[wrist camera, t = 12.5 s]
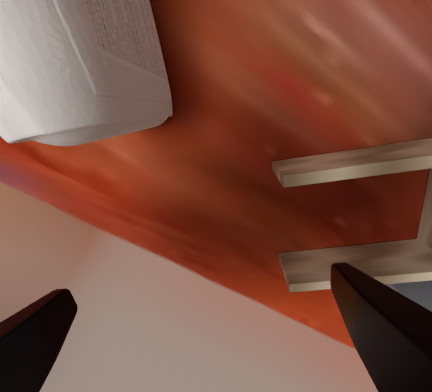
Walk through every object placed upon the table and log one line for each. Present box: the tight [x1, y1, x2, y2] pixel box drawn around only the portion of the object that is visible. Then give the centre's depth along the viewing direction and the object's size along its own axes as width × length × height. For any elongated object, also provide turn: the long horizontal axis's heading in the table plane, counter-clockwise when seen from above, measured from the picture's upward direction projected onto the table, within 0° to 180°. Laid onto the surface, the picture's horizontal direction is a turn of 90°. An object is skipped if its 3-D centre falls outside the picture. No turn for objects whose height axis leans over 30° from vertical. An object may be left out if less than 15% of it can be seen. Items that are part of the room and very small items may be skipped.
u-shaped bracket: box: [272, 138, 432, 292], centre depth 17 cm, size 13×10×4 cm
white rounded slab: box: [0, 0, 173, 146], centre depth 10 cm, size 10×4×12 cm, turn 11°
